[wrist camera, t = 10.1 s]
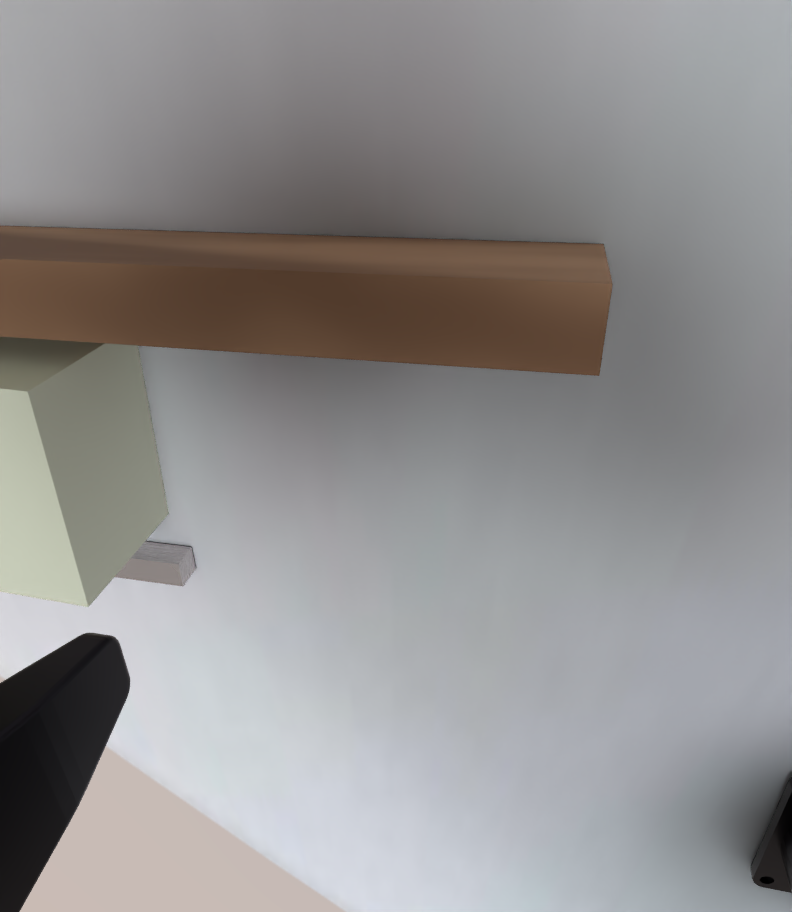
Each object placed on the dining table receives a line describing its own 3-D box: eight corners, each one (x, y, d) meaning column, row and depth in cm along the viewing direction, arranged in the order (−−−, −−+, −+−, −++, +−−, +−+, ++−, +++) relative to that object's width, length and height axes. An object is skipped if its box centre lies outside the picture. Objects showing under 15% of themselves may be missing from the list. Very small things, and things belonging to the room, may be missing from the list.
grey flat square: (195, 568, 25) (183, 586, 24) (-36, 538, 27) (-55, 553, 26) (142, 315, 20) (124, 326, 19) (-136, 300, 22) (-163, 309, 21)
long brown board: (592, 322, 18) (599, 375, 15) (-167, 283, 22) (-280, 318, 19) (603, 244, 17) (612, 283, 14) (-195, 219, 21) (-318, 246, 18)
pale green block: (173, 529, 25) (94, 627, 20) (51, 511, 25) (-51, 601, 21) (136, 323, 21) (27, 391, 16) (-8, 309, 21) (-147, 370, 17)
